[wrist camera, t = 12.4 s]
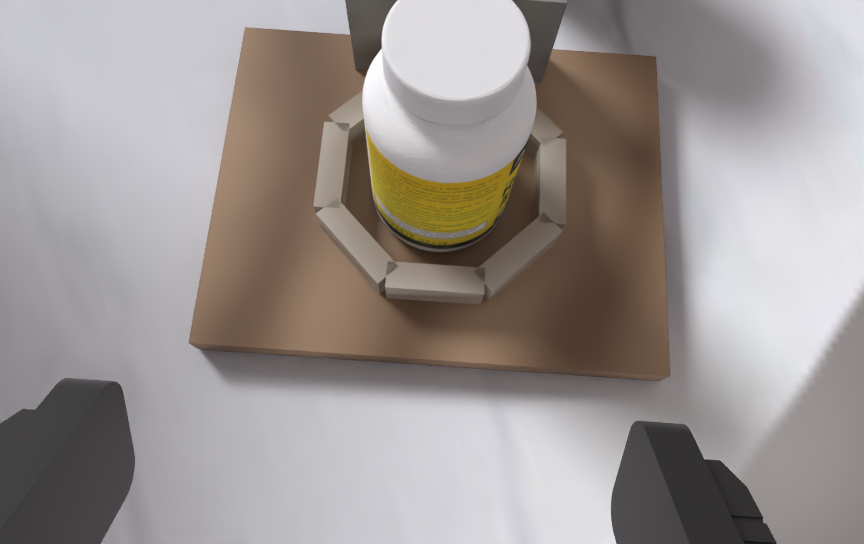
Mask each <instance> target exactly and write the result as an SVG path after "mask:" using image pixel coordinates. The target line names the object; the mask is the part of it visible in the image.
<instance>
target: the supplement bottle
mask: <svg viewBox="0 0 864 544" xmlns="http://www.w3.org/2000/svg"><path fill="white" fill-rule="evenodd" d="M530 50H531V40H530V32H529V28H528V24H527V22H526V20H525V17H524V16H523V14H522V12H521V11H520V9H519V8H518V7H517V5H516V4H515V3H514V2H513V1H512V0H398V1H397V2H396V3H395V4H394V5H393V7H392V8H391V10H390V11H389V13H388V15H387V17H386V20H385V23H384V26H383V31H382V49H381V50H380V51H379V53H378V54H377V55H376V57H375V58H374V60H373V62H372V63H371V65H370V67H369V69H368V72H367V75H366V78H365V81H364V86H363V95H362V105H363V115H364V123H365V131H366V140H367V149H368V158H369V167H370V176H371V185H372V192H373V199H374V203H375V207H376V209H377V212H378V214H379V216H380V218H381V220H382V221H383V223H384V224H385V225H386V227H387V228H388V229H389V230H390V231H391V232H392V233H393V234H394V235H395V236H396V237H397V238H399V239H400V240H402V241H403V242H405V243H407V244H409V245H411V246H413V247H415V248H418V249H422V250H426V251H431V252H449V251H455V250H459V249H463V248H466V247H468V246H471V245H473V244H475V243H476V242H478V241H480V240H481V239H482V238H484V237H485V236H486V235H487V234H488V233H490V232H491V230H492V229H493V228H494V227H495V226H496V224H497V223H498V221H499V219H500V217H501V216H502V214H503V211H504V209H505V207H506V204H507V201H508V198H509V196H510V192H511V189H512V187H513V184H514V181H515V178H516V175H517V172H518V169H519V166H520V163H521V160H522V157H523V154H524V151H525V148H526V145H527V143H528V141H529V138H530V135H531V131H532V127H533V124H534V120H535V114H536V106H537V100H536V90H535V84H534V81H533V78H532V75H531V72H530V70H529V68H528V66H527V64H528V60H529V55H530Z"/></svg>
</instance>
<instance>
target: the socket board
mask: <svg viewBox="0 0 864 544" xmlns="http://www.w3.org/2000/svg"><path fill="white" fill-rule="evenodd" d="M345 1H346V8H347V15H348V22H349V29H350V35H345V34H331V33H317V32H303V31H289V30H275V29H261V28H247V27H245V31H244V36H243V42H242V48H241V53H240V59H239V64H238V70H237V76H236V81H235V87H234V92H233V98H232V104H231V109H230V115H229V120H228V126H227V131H226V137H225V143H224V148H223V154H222V159H221V165H220V171H219V176H218V182H217V187H216V193H215V199H214V204H213V210H212V215H211V221H210V226H209V232H208V238H207V243H206V249H205V254H204V260H203V266H202V271H201V277H200V282H199V288H198V294H197V299H196V305H195V310H194V316H193V322H192V327H191V333H190V338H189V343H190V344H191V345H193V346H195V347H196V348H198V349H206V350H220V351H234V352H249V353H263V354H278V355H292V356H307V357H321V358H336V359H350V360H365V361H379V362H394V363H408V364H423V365H437V366H451V367H466V368H480V369H495V370H509V371H524V372H538V373H553V374H567V375H582V376H596V377H611V378H625V379H640V380H654V381H659V380H662V379H664V378H667V377H669V376H670V367H669V344H668V321H667V298H666V275H665V252H664V229H663V206H662V183H661V160H660V137H659V114H658V91H657V68H656V57H654V56H640V55H626V54H612V53H598V52H584V51H570V50H556V49H553V46H554V42H555V39H556V36H557V33H558V30H559V27H560V24H561V20H562V17H563V14H564V11H565V8H566V5H567V0H512V1H513V2H514V3H515V4H516V5H517V7H518V8H519V9H520V11H521V12H522V14H523V16H524V17H525V20H526V22H527V24H528V28H529V32H530V40H531V50H530V55H529V60H528V64H527V66H528V68H529V70H530V72H531V75H532V78H533V81H534V84H535V90H536V100H537V106H536V114H535V120H534V124H533V127H532V131H531V135H530V138H529V141H528V143H527V145H526V148H525V151H524V154H523V157H522V160H521V163H520V166H519V169H518V172H517V175H516V178H515V181H514V184H513V187H512V189H511V192H510V196H509V198H508V201H507V204H506V207H505V209H504V211H503V214H502V216H501V217H500V219H499V221H498V223H497V224H496V226H495V227H494V228H493V229H492V230H491V232H490V233H488V234H487V235H486V236H485V237H484V238H482V239H481V240H480V241H478V242H476V243H475V244H473V245H471V246H468V247H466V248H463V249H459V250H455V251H449V252H431V251H426V250H422V249H418V248H415V247H413V246H411V245H409V244H407V243H405V242H403V241H402V240H400V239H399V238H397V237H396V236H395V235H394V234H393V233H392V232H391V231H390V230H389V229H388V228H387V227H386V225H385V224H384V223H383V221H382V220H381V218H380V216H379V214H378V212H377V209H376V207H375V203H374V199H373V192H372V185H371V176H370V167H369V158H368V149H367V140H366V131H365V123H364V115H363V105H362V95H363V86H364V81H365V78H366V75H367V72H368V69H369V67H370V65H371V63H372V62H373V60H374V58H375V57H376V55H377V54H378V53H379V51H380V50H381V49H382V31H383V26H384V23H385V20H386V17H387V15H388V13H389V11H390V10H391V8H392V7H393V5H394V4H395V3H396V2H397V1H398V0H345Z"/></svg>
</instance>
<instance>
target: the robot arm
mask: <svg viewBox="0 0 864 544" xmlns="http://www.w3.org/2000/svg"><path fill="white" fill-rule="evenodd" d="M134 466H135V456H134V449H133V444H132V438H131V433H130V428H129V422H128V417H127V411H126V406H125V400H124V395H123V391H122V388H121V386H120V385H119V383H117V382H114V381H100V380H87V379H73V378H65V379H63V380H61V381H60V382H59V383H58V384H57V385H56V386H55V387H54V388H53V389H52V390H51V392H50V393H49V394H48V395H47V397H46V398H45V399H44V400H43V401H42V403H41V404H40V405H39V406H38V407H37V409H36V410H27V409H22V410H21V411H19V412H18V413H16V414H15V415H13V416H11V417H10V418H8V419H7V420H5V421H4V422H2V423H1V424H0V544H101V542H102V540H103V538H104V536H105V534H106V533H107V531H108V529H109V527H110V525H111V524H112V522H113V520H114V518H115V516H116V515H117V513H118V511H119V509H120V507H121V505H122V504H123V502H124V500H125V498H126V496H127V494H128V492H129V489H130V486H131V483H132V479H133V474H134ZM611 519H612V527H613V532H614V536H615V539H616V543H617V544H776V541H775V539H774V537H773V535H772V534H771V532H770V530H769V528H768V526H767V524H764V523H763V516H762V515H761V513H760V511H759V509H758V507H757V505H756V503H755V501H754V500H753V498H752V496H751V494H750V492H749V490H748V488H747V487H746V486H745V485H744V484H743V483H742V482H741V481H740V480H739V479H738V478H737V477H736V476H735V475H734V474H733V473H732V472H731V471H730V470H729V469H728V468H727V467H726V466H725V465H724V464H723V463H722V462H721V461H718V460H704V458H703V456H702V454H701V452H700V450H699V448H698V446H697V443H696V441H695V439H694V437H693V435H692V433H691V431H690V429H689V428H688V427H687V426H686V425H684V424H673V423H660V422H646V421H636V422H634V423H633V425H632V427H631V429H630V432H629V435H628V439H627V442H626V446H625V449H624V453H623V456H622V460H621V463H620V467H619V470H618V474H617V477H616V481H615V484H614V488H613V492H612V500H611Z"/></svg>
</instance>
